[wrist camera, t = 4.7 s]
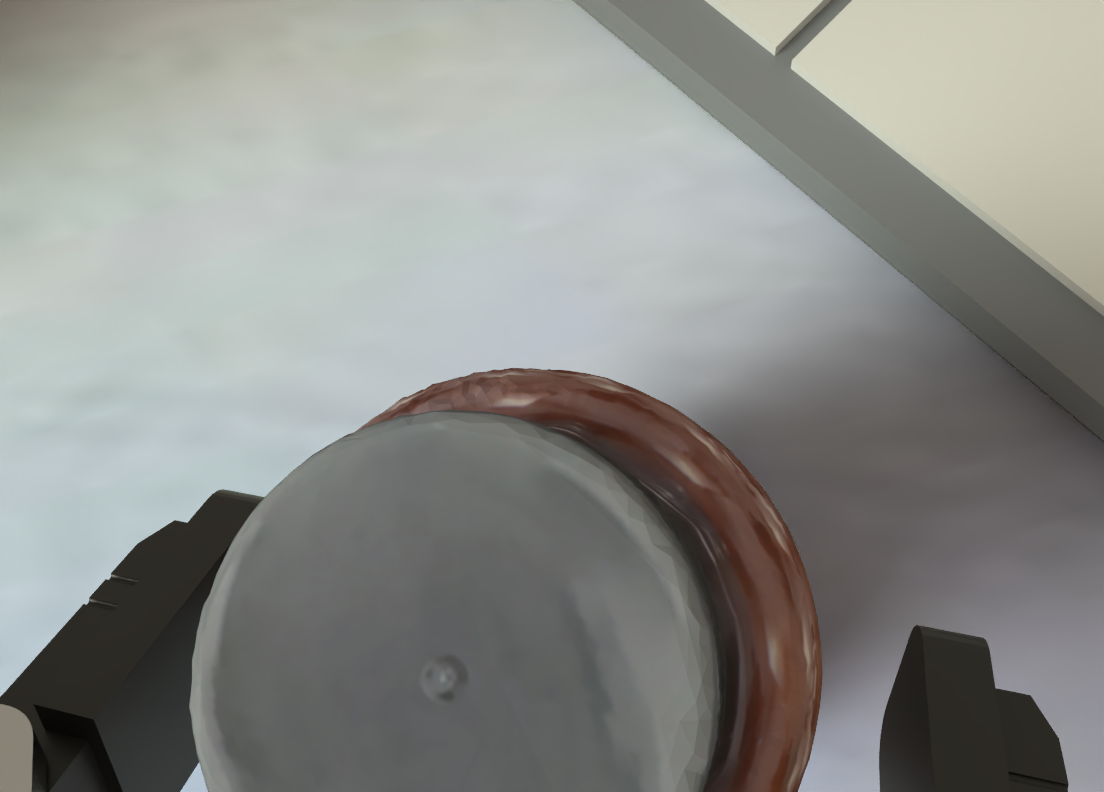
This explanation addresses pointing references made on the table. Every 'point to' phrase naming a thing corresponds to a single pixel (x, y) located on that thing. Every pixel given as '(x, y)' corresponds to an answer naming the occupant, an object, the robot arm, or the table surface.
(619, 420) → the supplement bottle
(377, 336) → the table surface
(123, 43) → the table surface
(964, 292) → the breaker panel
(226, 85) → the table surface
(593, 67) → the table surface
